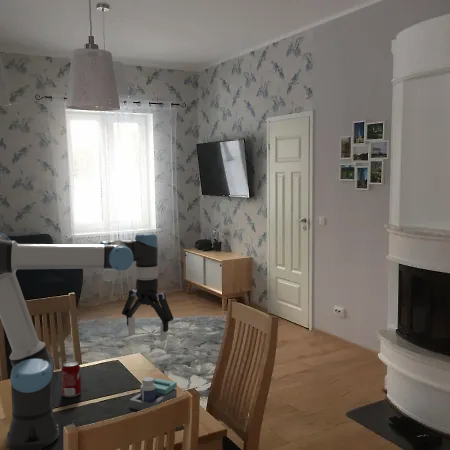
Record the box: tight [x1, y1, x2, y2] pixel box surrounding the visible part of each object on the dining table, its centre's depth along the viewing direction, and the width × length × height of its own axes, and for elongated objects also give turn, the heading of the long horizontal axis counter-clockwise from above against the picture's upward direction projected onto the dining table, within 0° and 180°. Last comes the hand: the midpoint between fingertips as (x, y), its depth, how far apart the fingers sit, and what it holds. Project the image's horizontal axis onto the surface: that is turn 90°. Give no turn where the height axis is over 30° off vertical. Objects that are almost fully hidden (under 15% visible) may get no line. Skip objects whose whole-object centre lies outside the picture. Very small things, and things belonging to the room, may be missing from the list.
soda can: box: [61, 360, 82, 398], centre depth 190 cm, size 7×7×12 cm
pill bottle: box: [139, 376, 156, 403], centre depth 181 cm, size 5×5×10 cm
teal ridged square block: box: [154, 378, 177, 394], centre depth 188 cm, size 8×8×3 cm
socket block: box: [128, 388, 178, 411], centre depth 184 cm, size 15×10×3 cm, turn 153°
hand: (147, 337), depth 179 cm, fingers open, 13 cm apart
